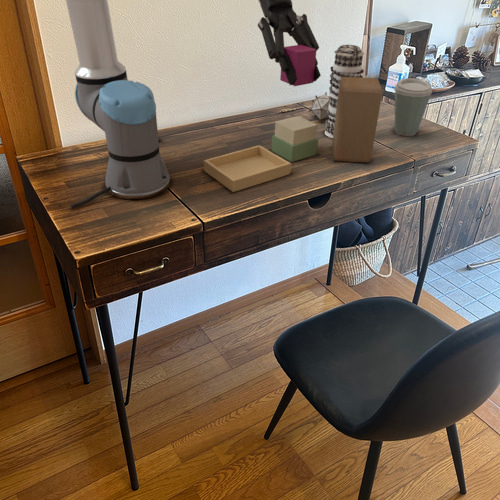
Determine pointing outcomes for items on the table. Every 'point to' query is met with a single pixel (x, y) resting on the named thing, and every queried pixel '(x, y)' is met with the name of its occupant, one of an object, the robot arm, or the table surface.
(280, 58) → the robot arm
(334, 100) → the leaning tower model
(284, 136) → the cream block
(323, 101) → the game die
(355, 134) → the wooden block
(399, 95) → the disposable coffee cup
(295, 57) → the mulberry block
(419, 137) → the table surface
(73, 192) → the table surface
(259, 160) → the tray
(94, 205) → the table surface
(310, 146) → the sage block
